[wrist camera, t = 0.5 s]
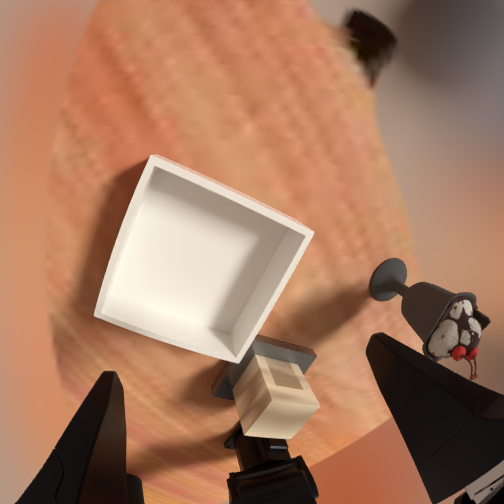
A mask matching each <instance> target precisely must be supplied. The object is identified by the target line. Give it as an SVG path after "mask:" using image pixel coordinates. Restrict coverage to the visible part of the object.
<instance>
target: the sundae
mask: <svg viewBox="0 0 504 504" xmlns="http://www.w3.org/2000/svg"><path fill="white" fill-rule="evenodd" d="M406 276H407V269H406V266H405V264H404V262H403V261H402V260H400V259H398V258H392V259H389V260H387V261H385V262H383V263H382V264H381V265H380V266H379V267H378V268H377V270H376V271H375V273H374V275H373V277H372V281H371V286H370V288H371V294H372V296H373V297H374V298H375V299H376V300H378V301H387V300H390V299H392V298H393V297H395V296H396V295H397V294H399V295H401V296H402V297H403V299H402V305H401V310H402V315H403V316H404V317H405V319H406V320H407V322H408V323H409V325H410V326H411V327H412V328H413V330H414V331H415V332H416V333H417V335H418V336H419V337H420V338H421V340H422V341H423V343H424V344H423V348H422V350H423V353H424V355H425V356H426V357H428V358H430V359H431V360H433V361H435V362H437V361H439V360H441V359H442V358H449V357H453V359H454V360H456V361H459V360H461V359H463V358H464V359H466V360H467V361H468V362H469V363H470V365H471V377H470V380H473V379H475V378H477V376H478V375H477V374H476V359H475V358H476V357H477V354H478V349H477V346H478V345H479V341H480V337H481V331H482V330H483V329H485V328H486V327H487V325H488V324H489V323H490V319H489V318H488V317H487V316H485V315H484V314H482V313H481V312H479V311H478V310H477V308H478V307H477V305H476V296H475V295H474V294H472V293H467V292H464V293H458V294H455V293H452V292H450V291H447V290H445V289H443V288H441V287H438V286H436V285H434V284H430V283H427V282H419V283H416V284H414V285H412V286H411V287H410V288H409V287H407V286H406V285H405V284H404V283H405V280H406ZM473 359H474V364H475V373H474V375H472V371H473V367H472V364H471V361H470V360H473Z"/></svg>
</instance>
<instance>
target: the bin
mask: <svg viewBox="0 0 504 504" xmlns="http://www.w3.org/2000/svg"><path fill="white" fill-rule="evenodd" d="M314 233H315V232H313V231H312V230H311V229H309V228H308V227H306V226H305V225H303V224H302V223H300V222H299V221H297V220H296V219H294V218H292V217H290V216H288V215H286V214H284V213H282V212H280V211H278V210H276V209H274V208H272V207H270V206H268V205H266V204H264V203H262V202H260V201H258V200H256V199H254V198H252V197H250V196H248V195H246V194H244V193H242V192H239V191H237V190H235V189H233V188H231V187H229V186H227V185H225V184H223V183H220V182H218V181H216V180H214V179H212V178H210V177H208V176H205V175H203V174H201V173H199V172H197V171H194V170H192V169H190V168H188V167H186V166H183V165H181V164H179V163H177V162H174V161H172V160H170V159H168V158H165V157H163V156H161V155H158V154H154V155H151V156H150V158H149V160H148V162H147V164H146V167H145V169H144V171H143V173H142V176H141V178H140V180H139V183H138V185H137V187H136V190H135V192H134V195H133V197H132V200H131V202H130V205H129V207H128V210H127V212H126V215H125V217H124V220H123V223H122V226H121V228H120V231H119V234H118V237H117V239H116V242H115V245H114V248H113V251H112V254H111V257H110V260H109V263H108V267H107V270H106V273H105V276H104V280H103V283H102V286H101V290H100V293H99V297H98V301H97V304H96V308H95V312H94V316H95V317H97V318H100V319H102V320H105V321H107V322H110V323H112V324H115V325H118V326H120V327H123V328H126V329H128V330H131V331H134V332H136V333H139V334H142V335H145V336H148V337H151V338H154V339H156V340H159V341H162V342H165V343H169V344H172V345H175V346H178V347H181V348H184V349H188V350H191V351H194V352H198V353H201V354H205V355H208V356H212V357H215V358H219V359H223V360H226V361H230V362H234V363H238V364H239V363H240V361H241V360H242V358H243V356H244V355H245V353H246V351H247V350H248V348H249V347H250V345H251V343H252V342H253V340H254V338H255V337H256V335H257V333H258V332H259V330H260V328H261V327H262V325H263V323H264V321H265V320H266V318H267V316H268V315H269V313H270V311H271V310H272V308H273V306H274V304H275V303H276V301H277V299H278V298H279V296H280V294H281V292H282V291H283V289H284V287H285V285H286V284H287V282H288V280H289V278H290V277H291V275H292V273H293V271H294V269H295V268H296V266H297V264H298V262H299V260H300V259H301V257H302V255H303V253H304V251H305V250H306V248H307V246H308V244H309V242H310V240H311V239H312V237H313V235H314Z"/></svg>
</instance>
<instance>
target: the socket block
mask: <svg viewBox="0 0 504 504" xmlns="http://www.w3.org/2000/svg"><path fill="white" fill-rule="evenodd" d="M232 390H233V394H234V399H235V403H236V406H237V410H238V414H239V418H240V422H241V426H242V430H243V433H244V435H245V436H255V437H265V438H279V439H291V438H292V437H293V436H294V435H295V434H296V433H297V432H298V431H299V430H300V429H301V428H302V426H303V425H304V424H305V423H306V422H307V421H308V420H309V419H310V418H311V416H312V415H313V414H314V413H315V412H316V411H317V410H318V408H319V407H320V405H319V403H318V401H317V399H316V397H315V396H314V394H313V392H312V390H311V388H310V386H309V384H308V383H307V381H306V379H305V377H304V375H303V373H302V371H301V370H300V368H299V366H298V365H297V364H293V363H288V362H284V361H280V360H276V359H271V358H267V357H263V356H259V355H256V354H255V355H254V357H253V358H252V360H251V362H250V363H249V365H248V366H247V368H246V369H245V371H244V372H243V374H242V376H241V377H240V379H239V380H238V382H237V383H236V385H235V386H234V388H233V389H232Z"/></svg>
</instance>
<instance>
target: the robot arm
mask: <svg viewBox="0 0 504 504" xmlns="http://www.w3.org/2000/svg"><path fill="white" fill-rule="evenodd" d="M366 356H367V358H368V361H369V364H370V366H371V369H372V371H373V374H374V377H375V379H376V382H377V384H378V387H379V389H380V391H381V393H382V395H383V397H384V399H385V401H386V403H387V405H388V407H389V409H390V411H391V413H392V416H393V418H394V419H395V422H396V424H397V426H398V428H399V430H400V432H401V434H402V436H403V439H404V441H405V443H406V445H407V447H408V449H409V452H410V454H411V456H412V458H413V460H414V463H415V465H416V467H417V469H418V472H419V474H420V476H421V479H422V481H423V483H424V486H425V488H426V490H427V493H428V495H429V497H430V500H431V502H432V504H437V503H439V502H441V501H443V500H445V499H446V498H448V497H450V496H451V495H453V494H455V493H457V492H458V491H460V490H462V489H463V488H464V489H465V490H466V491H465V492H463V493H462V494H461V495H460V496H458V497H457V498H456V499H455V501H454V504H504V395H502V394H500V393H497V392H495V391H493V390H490V389H488V388H486V387H483V386H481V385H479V384H477V383H474V382H472V381H470V380H468V379H466V378H464V377H462V376H461V375H459V374H457V373H454V372H453V371H451V370H450V369H448V368H446V367H444V366H442V365H441V364H439V363H437V362H435V361H433V360H431V359H430V358H428V357H426V356H424V355H422V354H421V353H419V352H417V351H415V350H413V349H412V348H410V347H408V346H406V345H404V344H403V343H401V342H399V341H397V340H395V339H394V338H392V337H390V336H388V335H386V334H385V333H382V332H379V333H376V334H373V335H372V336H371V338H370V340H369V343H368V345H367V348H366ZM224 447H225V448H227V449H235V450H236V454H237V458H238V462H239V466H240V470H241V472H236V473H234V472H232V473H229V476H230V478H228V479H227V485H228V490H229V503H230V504H317V503H316V500H315V498H318V496H319V494H318V490H317V486H316V484H315V481H314V479H313V477H312V475H311V473H310V471H309V469H308V467H307V466H306V464H305V462H304V460H303V458H302V456H301V455H300V456H297V457H296V458H292V459H291V457H290V454H289V452H288V445H287V442H286V440H285V439H279V438H265V437H255V436H245V435H244V433H243V430H242V426H241V424H240V425H239V426H238V427H237V429H236V430H235V431H234V432H233V434H232V435H231V436H230V437H229V439H228V440H227V441H226V442H225V444H224ZM15 504H127V481H126V420H125V406H124V391H123V386H122V384H121V381H120V379H119V377H118V375H117V373H116V372H115V371H104V372H103V373H102V374H101V375H100V377H99V378H98V380H97V381H96V383H95V384H94V386H93V387H92V389H91V390H90V392H89V393H88V395H87V397H86V398H85V400H84V401H83V403H82V404H81V406H80V407H79V409H78V410H77V412H76V414H75V415H74V417H73V418H72V420H71V421H70V423H69V425H68V426H67V428H66V430H65V431H64V433H63V435H62V436H61V438H60V439H59V441H58V443H57V444H56V446H55V449H53V451H52V452H51V454H50V456H49V458H48V459H47V461H46V462H45V464H44V465H43V467H42V468H41V470H40V471H39V473H38V474H37V475H36V477H35V478H34V480H33V481H32V482H31V483H30V485H29V486H28V487H27V489H26V490H25V491H24V493H23V494H22V495H21V497H20V498H19V499H18V501H17V502H16V503H15Z"/></svg>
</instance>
